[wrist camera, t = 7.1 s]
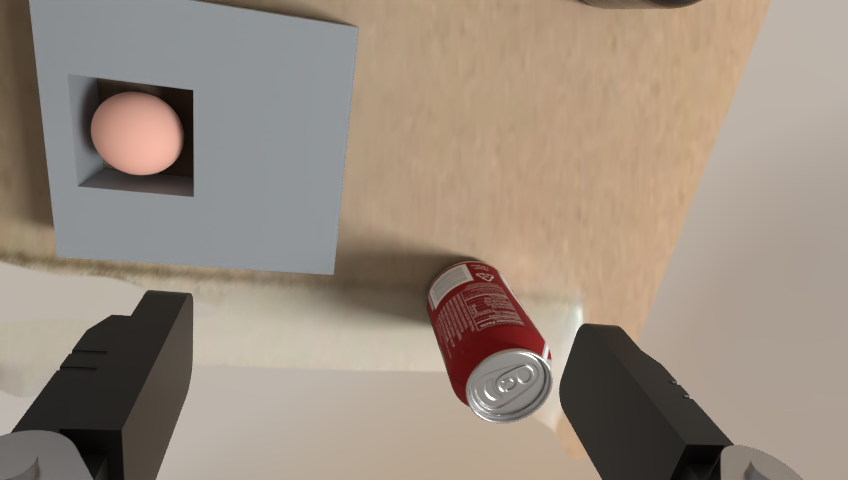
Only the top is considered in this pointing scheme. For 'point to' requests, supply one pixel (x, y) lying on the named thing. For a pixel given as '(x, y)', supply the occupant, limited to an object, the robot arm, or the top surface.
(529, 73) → the top surface
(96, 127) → the ball
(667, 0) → the supplement bottle
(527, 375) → the soda can
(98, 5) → the grey block with recess
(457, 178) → the top surface
